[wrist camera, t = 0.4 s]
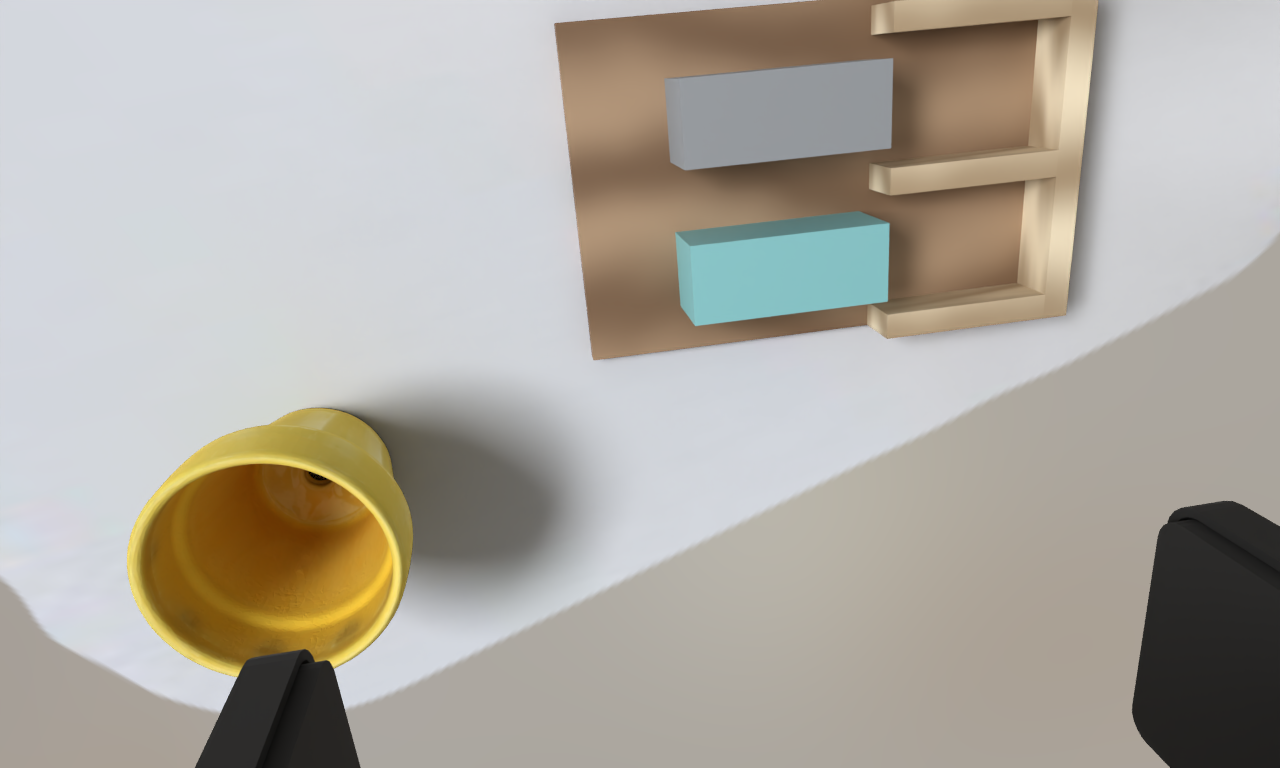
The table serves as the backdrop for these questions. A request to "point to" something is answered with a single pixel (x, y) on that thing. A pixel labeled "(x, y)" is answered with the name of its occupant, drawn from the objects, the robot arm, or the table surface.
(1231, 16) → the table surface
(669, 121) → the grey rectangular block
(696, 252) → the aqua foam brick
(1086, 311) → the table surface
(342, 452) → the plant pot
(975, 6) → the comb board
